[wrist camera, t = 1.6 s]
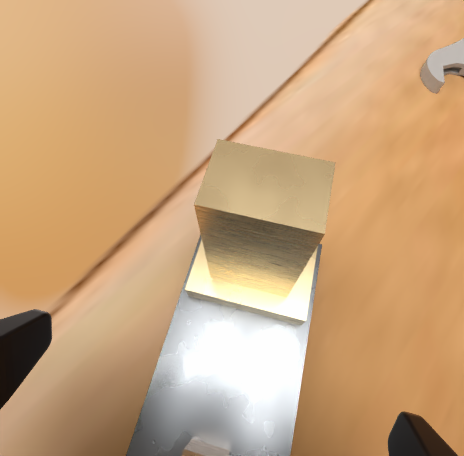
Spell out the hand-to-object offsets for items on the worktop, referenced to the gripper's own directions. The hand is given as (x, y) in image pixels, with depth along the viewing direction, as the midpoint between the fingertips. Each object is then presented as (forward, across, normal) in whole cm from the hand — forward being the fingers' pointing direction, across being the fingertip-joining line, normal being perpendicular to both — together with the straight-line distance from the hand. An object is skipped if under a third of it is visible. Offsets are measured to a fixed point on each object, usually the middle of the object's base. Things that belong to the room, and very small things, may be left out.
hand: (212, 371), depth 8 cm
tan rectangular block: (+12, 0, +3) cm, 13 cm away
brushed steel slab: (+10, 0, +8) cm, 13 cm away
